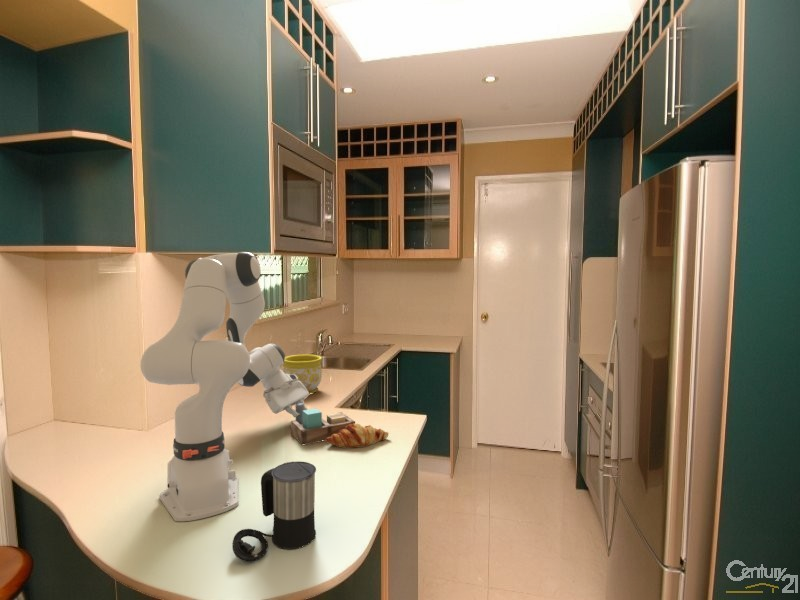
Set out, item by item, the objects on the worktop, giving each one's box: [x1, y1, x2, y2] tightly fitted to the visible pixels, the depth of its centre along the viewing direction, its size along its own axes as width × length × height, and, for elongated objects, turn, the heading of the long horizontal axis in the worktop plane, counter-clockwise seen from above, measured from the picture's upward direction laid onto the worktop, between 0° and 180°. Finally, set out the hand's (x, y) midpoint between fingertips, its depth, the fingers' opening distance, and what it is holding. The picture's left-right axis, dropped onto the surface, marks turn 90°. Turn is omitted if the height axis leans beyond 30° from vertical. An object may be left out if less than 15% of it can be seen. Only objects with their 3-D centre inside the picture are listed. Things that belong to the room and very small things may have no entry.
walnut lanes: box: [290, 411, 356, 445], centre depth 154 cm, size 12×19×4 cm, turn 121°
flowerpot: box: [282, 354, 323, 394], centre depth 207 cm, size 18×18×16 cm
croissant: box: [325, 422, 389, 449], centre depth 147 cm, size 21×10×8 cm, turn 111°
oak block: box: [326, 412, 345, 425], centre depth 156 cm, size 5×5×6 cm
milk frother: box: [231, 460, 317, 563], centre depth 92 cm, size 14×16×15 cm
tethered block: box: [294, 402, 323, 429], centre depth 156 cm, size 17×5×9 cm, turn 31°
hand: (301, 413), depth 162 cm, fingers open, 4 cm apart
